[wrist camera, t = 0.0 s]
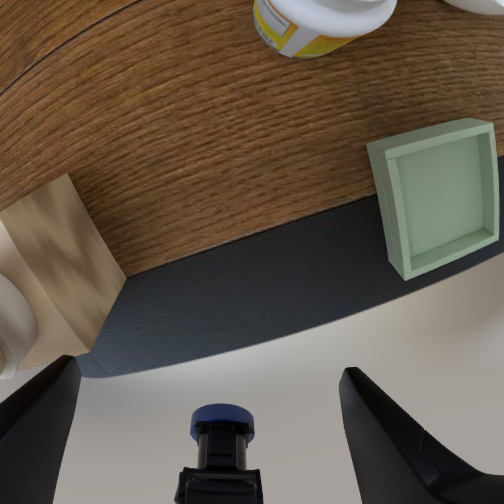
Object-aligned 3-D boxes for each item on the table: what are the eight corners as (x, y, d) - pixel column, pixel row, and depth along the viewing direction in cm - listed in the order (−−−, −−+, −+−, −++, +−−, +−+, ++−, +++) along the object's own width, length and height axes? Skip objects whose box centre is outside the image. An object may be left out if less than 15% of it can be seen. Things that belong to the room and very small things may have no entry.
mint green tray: (477, 225, 22) (498, 240, 19) (388, 260, 23) (404, 281, 20) (467, 117, 18) (493, 122, 15) (364, 143, 19) (384, 150, 16)
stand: (127, 278, 22) (90, 352, 15) (51, 310, 24) (11, 373, 17) (67, 172, 19) (-3, 213, 11) (-2, 224, 20) (-62, 271, 13)
